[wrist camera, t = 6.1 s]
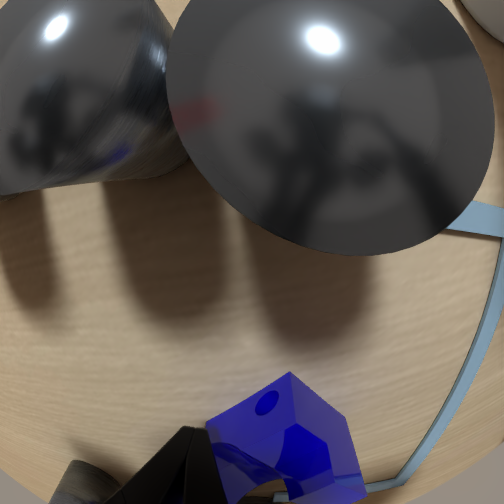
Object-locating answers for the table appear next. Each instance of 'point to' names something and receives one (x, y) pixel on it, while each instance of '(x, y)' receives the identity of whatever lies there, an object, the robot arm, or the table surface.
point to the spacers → (252, 118)
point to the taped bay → (489, 223)
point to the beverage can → (488, 15)
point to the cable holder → (287, 446)
